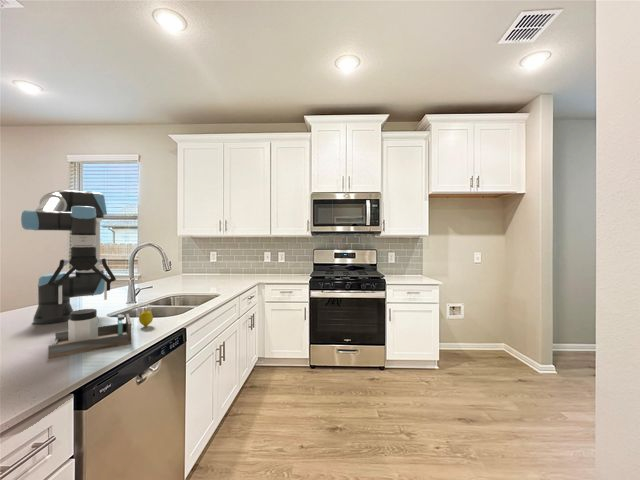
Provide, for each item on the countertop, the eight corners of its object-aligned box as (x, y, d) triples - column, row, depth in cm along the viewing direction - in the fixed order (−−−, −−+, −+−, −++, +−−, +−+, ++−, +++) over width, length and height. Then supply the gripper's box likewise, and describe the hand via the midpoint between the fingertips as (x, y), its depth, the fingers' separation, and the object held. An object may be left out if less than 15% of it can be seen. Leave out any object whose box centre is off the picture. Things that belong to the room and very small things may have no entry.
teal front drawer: (55, 342, 115) (55, 322, 115) (128, 331, 129) (128, 313, 129) (48, 358, 100) (48, 335, 100) (131, 343, 115) (131, 323, 114)
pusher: (117, 331, 126) (117, 312, 126) (123, 330, 127) (123, 311, 127) (118, 341, 113) (118, 320, 113) (124, 340, 114) (124, 320, 114)
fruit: (155, 325, 138) (155, 308, 138) (145, 328, 133) (145, 311, 133) (146, 324, 140) (146, 307, 140) (136, 327, 135) (136, 310, 134)
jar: (66, 347, 107) (66, 315, 107) (70, 341, 114) (70, 310, 114) (97, 343, 112) (97, 312, 112) (98, 337, 119) (98, 307, 119)
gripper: (37, 247, 102) (37, 307, 103) (123, 246, 117) (122, 299, 117) (41, 246, 108) (41, 303, 109) (122, 245, 123) (122, 295, 123)
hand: (83, 301), depth 113 cm, fingers open, 13 cm apart
